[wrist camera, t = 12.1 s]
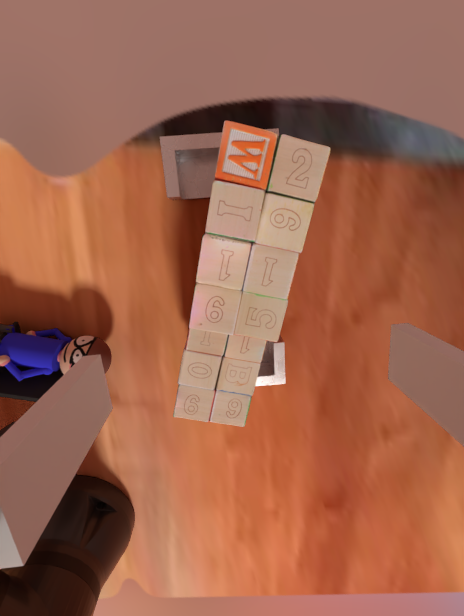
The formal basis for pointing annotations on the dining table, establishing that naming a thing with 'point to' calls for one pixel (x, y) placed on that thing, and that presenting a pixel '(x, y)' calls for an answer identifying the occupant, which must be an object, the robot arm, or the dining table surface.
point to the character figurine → (41, 359)
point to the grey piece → (272, 364)
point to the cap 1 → (191, 164)
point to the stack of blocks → (246, 266)
